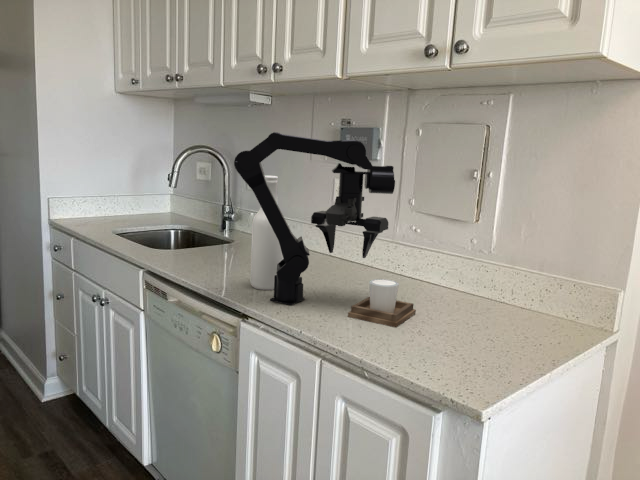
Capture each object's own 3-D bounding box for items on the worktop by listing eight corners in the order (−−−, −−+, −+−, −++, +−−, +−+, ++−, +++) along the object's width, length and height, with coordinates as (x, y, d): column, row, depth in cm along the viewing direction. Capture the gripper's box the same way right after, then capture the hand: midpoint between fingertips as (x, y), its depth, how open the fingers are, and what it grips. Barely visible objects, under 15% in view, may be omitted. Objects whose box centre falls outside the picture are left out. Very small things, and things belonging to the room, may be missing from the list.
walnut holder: (347, 316, 122) (348, 306, 122) (369, 304, 132) (370, 294, 132) (396, 327, 116) (397, 316, 116) (415, 313, 126) (416, 303, 126)
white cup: (378, 304, 129) (380, 276, 128) (402, 311, 124) (404, 282, 123) (361, 310, 124) (363, 281, 122) (386, 317, 119) (388, 287, 118)
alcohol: (287, 289, 143) (292, 177, 137) (256, 291, 139) (260, 177, 134) (275, 280, 151) (279, 175, 145) (245, 283, 147) (249, 174, 141)
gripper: (300, 191, 126) (298, 255, 129) (371, 197, 117) (367, 266, 120) (323, 188, 136) (320, 248, 139) (391, 194, 127) (387, 258, 129)
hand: (347, 255), depth 131 cm, fingers open, 9 cm apart
